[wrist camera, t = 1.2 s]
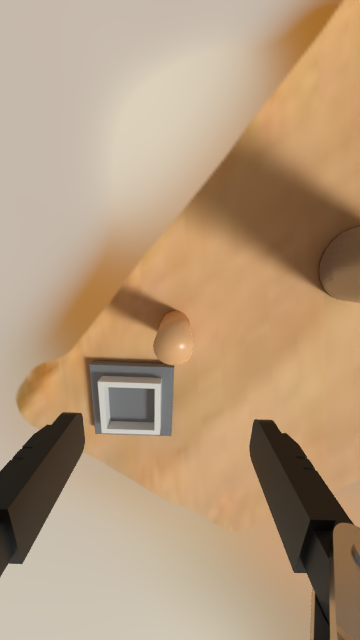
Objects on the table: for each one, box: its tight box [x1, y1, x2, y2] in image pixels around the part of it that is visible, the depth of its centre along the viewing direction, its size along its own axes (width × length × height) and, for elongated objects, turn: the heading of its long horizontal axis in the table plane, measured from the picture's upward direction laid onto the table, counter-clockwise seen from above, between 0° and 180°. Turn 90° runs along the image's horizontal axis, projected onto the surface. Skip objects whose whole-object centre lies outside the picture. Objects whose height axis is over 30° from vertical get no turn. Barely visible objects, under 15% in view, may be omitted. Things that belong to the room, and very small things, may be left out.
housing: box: [89, 361, 174, 436], centre depth 28 cm, size 12×12×3 cm
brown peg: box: [153, 311, 194, 365], centre depth 22 cm, size 4×4×8 cm
